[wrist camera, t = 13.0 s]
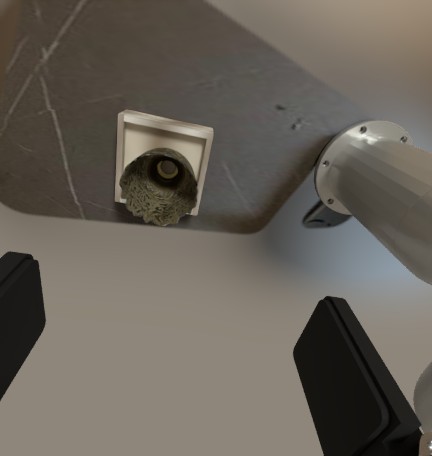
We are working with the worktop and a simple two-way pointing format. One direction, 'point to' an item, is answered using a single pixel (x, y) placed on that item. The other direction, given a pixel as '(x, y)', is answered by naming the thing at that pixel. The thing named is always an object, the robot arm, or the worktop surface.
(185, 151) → the birch tray
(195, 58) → the worktop surface
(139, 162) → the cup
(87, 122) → the worktop surface
